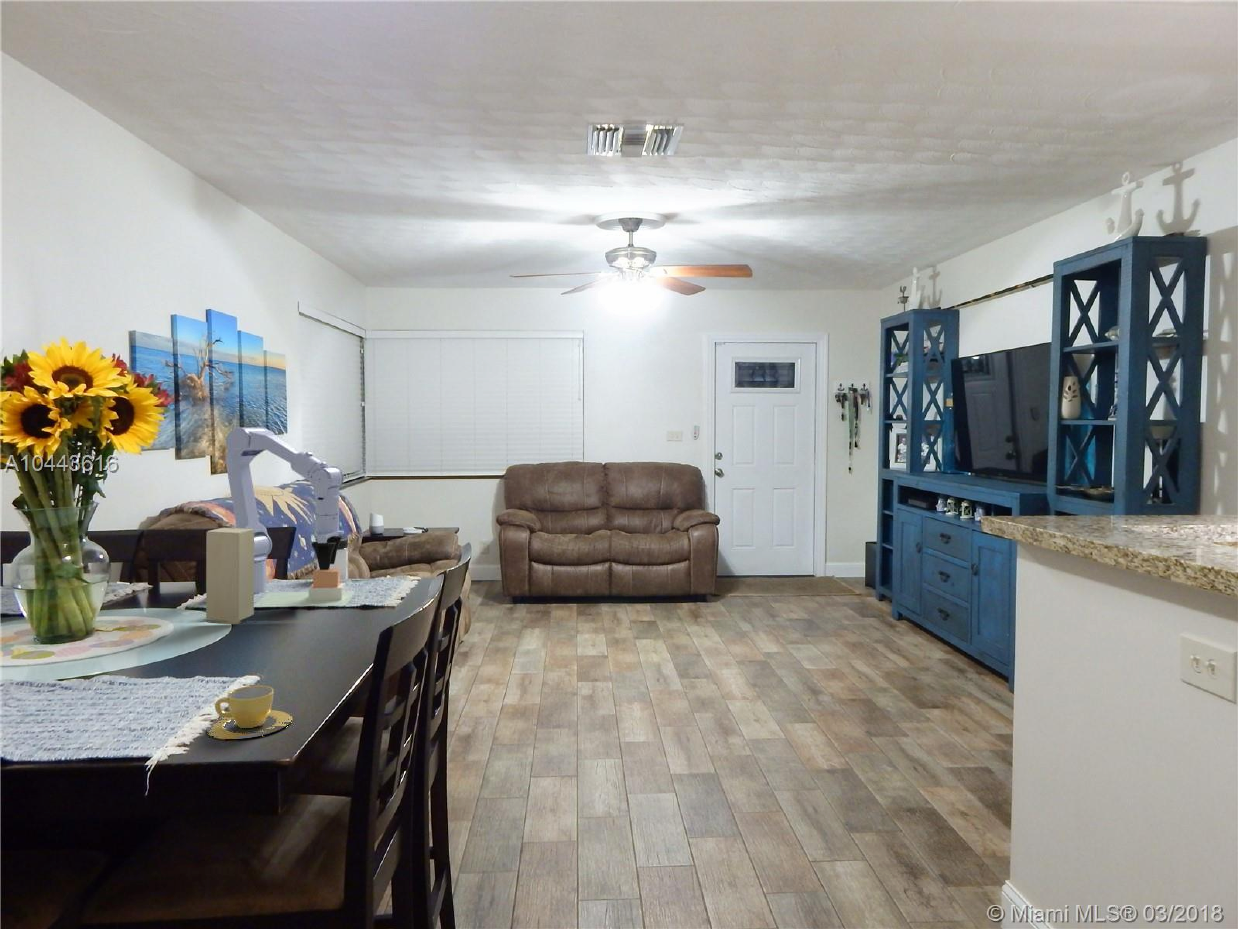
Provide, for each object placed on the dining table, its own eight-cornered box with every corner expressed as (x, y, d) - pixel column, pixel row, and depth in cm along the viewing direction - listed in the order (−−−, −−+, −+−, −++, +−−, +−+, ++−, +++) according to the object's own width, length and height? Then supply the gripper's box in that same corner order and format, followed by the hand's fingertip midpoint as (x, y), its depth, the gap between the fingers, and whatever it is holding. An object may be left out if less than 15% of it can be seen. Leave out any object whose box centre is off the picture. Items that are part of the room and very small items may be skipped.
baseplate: (251, 610, 194) (251, 607, 194) (268, 595, 210) (268, 592, 210) (346, 608, 198) (346, 604, 198) (355, 594, 214) (355, 591, 214)
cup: (299, 711, 130) (299, 678, 130) (282, 740, 118) (282, 704, 118) (220, 714, 128) (220, 681, 128) (194, 744, 116) (194, 708, 116)
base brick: (308, 600, 202) (308, 588, 202) (313, 595, 208) (313, 583, 208) (341, 599, 204) (341, 588, 203) (345, 594, 210) (345, 583, 209)
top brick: (313, 587, 203) (312, 572, 203) (316, 584, 207) (316, 569, 207) (337, 587, 204) (337, 571, 204) (340, 584, 208) (340, 568, 208)
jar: (346, 583, 227) (346, 541, 227) (315, 583, 226) (315, 541, 225) (349, 576, 236) (349, 536, 235) (320, 577, 234) (320, 536, 234)
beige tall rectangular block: (256, 616, 188) (256, 528, 187) (239, 624, 181) (238, 532, 180) (224, 615, 189) (224, 527, 188) (205, 623, 182) (204, 531, 181)
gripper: (338, 517, 198) (338, 572, 199) (347, 510, 212) (347, 561, 213) (308, 517, 197) (308, 572, 198) (320, 510, 211) (320, 561, 212)
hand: (327, 566), depth 205 cm, fingers open, 7 cm apart
